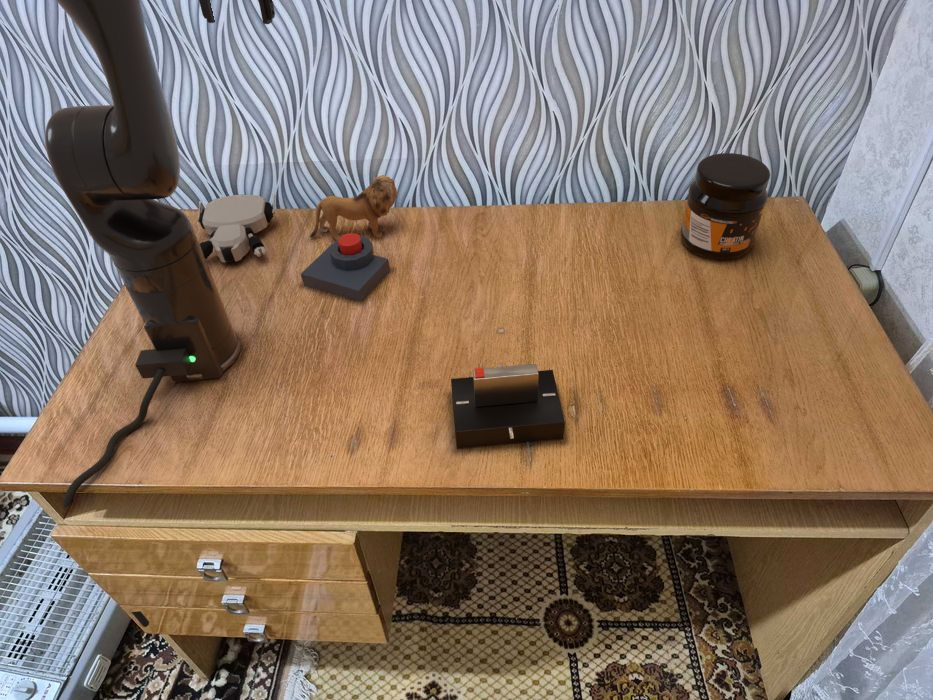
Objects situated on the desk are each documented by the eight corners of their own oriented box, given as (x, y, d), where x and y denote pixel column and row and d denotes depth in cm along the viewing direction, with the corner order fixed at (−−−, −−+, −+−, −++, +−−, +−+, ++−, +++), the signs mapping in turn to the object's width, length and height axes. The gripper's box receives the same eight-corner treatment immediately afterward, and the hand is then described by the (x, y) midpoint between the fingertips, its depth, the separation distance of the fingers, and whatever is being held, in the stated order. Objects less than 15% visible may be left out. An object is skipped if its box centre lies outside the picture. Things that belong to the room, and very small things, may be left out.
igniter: (394, 265, 99) (391, 243, 96) (361, 302, 93) (356, 280, 90) (339, 251, 102) (334, 229, 99) (303, 285, 96) (297, 263, 93)
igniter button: (366, 245, 96) (364, 235, 95) (354, 258, 94) (352, 247, 93) (348, 241, 97) (346, 231, 96) (336, 253, 95) (333, 243, 94)
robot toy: (273, 269, 101) (281, 210, 111) (265, 246, 97) (274, 187, 107) (192, 277, 100) (207, 217, 110) (181, 254, 97) (198, 195, 107)
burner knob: (535, 391, 75) (536, 361, 72) (537, 401, 74) (538, 372, 71) (474, 396, 75) (472, 367, 72) (475, 407, 74) (473, 378, 70)
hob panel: (549, 377, 81) (550, 358, 78) (566, 450, 73) (567, 432, 70) (451, 386, 80) (449, 367, 78) (457, 460, 72) (455, 442, 70)
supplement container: (683, 262, 96) (699, 188, 87) (674, 221, 103) (689, 150, 95) (759, 264, 94) (783, 189, 86) (745, 222, 102) (765, 150, 93)
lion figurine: (399, 216, 108) (392, 166, 102) (404, 234, 104) (397, 183, 98) (309, 231, 106) (296, 181, 100) (311, 250, 103) (297, 199, 96)
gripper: (148, -107, 86) (184, 28, 96) (253, -107, 84) (278, 30, 95) (174, -113, 91) (205, 15, 102) (273, -113, 90) (294, 16, 100)
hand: (240, 22), depth 98 cm, fingers open, 8 cm apart
